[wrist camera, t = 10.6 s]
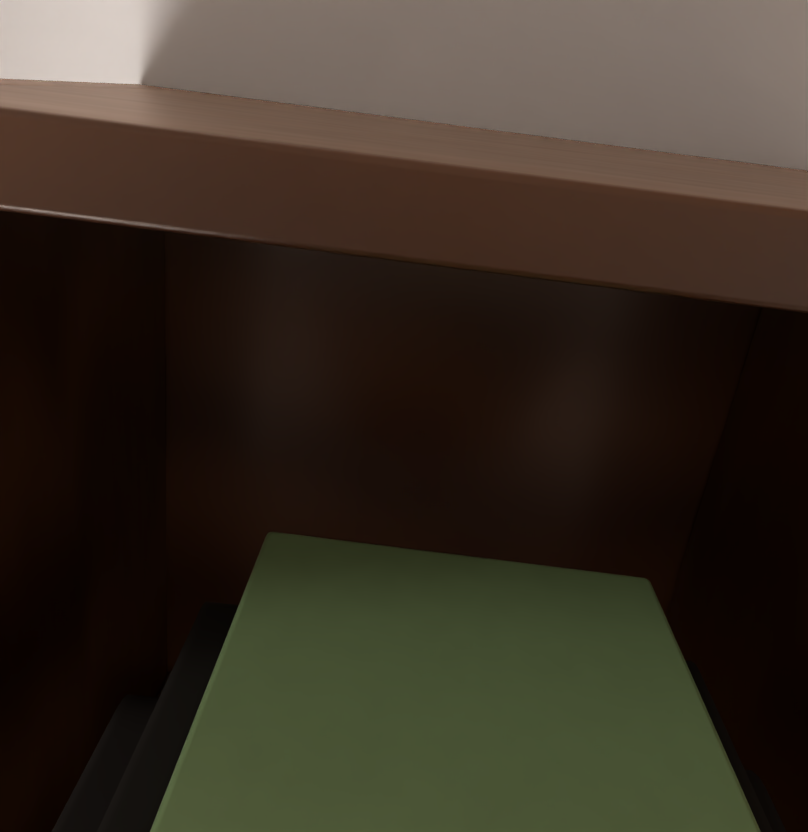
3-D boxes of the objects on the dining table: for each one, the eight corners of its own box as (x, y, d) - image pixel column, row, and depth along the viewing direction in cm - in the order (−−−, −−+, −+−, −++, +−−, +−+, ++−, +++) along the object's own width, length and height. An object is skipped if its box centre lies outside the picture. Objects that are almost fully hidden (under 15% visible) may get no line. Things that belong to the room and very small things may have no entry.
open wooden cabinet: (137, 83, 15) (-335, 64, 6) (824, 172, 15) (1424, 289, 6) (148, 668, 20) (-80, 1120, 11) (644, 729, 21) (808, 1222, 12)
